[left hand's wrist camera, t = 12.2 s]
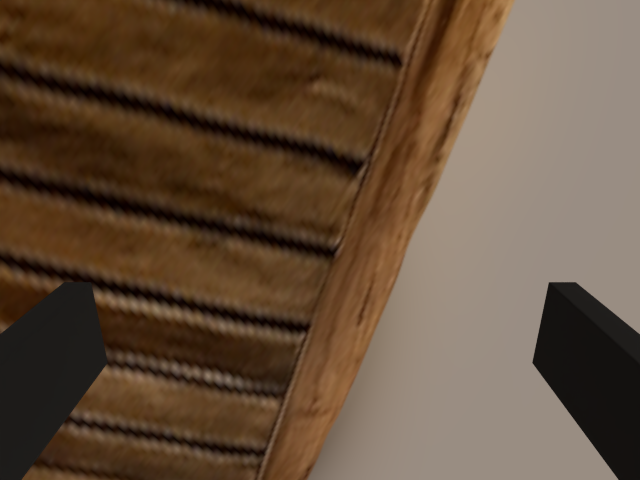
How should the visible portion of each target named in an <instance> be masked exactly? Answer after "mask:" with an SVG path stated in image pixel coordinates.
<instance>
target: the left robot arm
mask: <svg viewBox="0 0 640 480" xmlns="http://www.w3.org/2000/svg"><path fill="white" fill-rule="evenodd" d="M106 364H107V358H106V353H105V348H104V343H103V338H102V333H101V328H100V324H99V319H98V314H97V309H96V304H95V299H94V294H93V290H92V285H91V282H64V283H63V284H62V285H60V286H59V287H58V288H57V289H56V290H54V291H53V292H52V293H51V294H49V295H48V296H47V297H46V298H44V299H43V300H42V301H41V302H40V303H38V304H37V305H36V306H35V307H33V308H32V309H31V310H30V311H28V312H27V313H26V314H25V315H24V316H22V317H21V318H20V319H19V320H17V321H16V322H15V323H14V324H12V325H11V326H10V327H9V328H8V329H6V330H5V331H4V332H3V333H1V334H0V480H22V478H23V477H24V475H25V474H26V473H27V471H28V470H29V469H30V467H31V466H32V465H33V463H34V462H35V461H36V459H37V458H38V456H39V455H40V454H41V452H42V451H43V450H44V448H45V447H46V446H47V444H48V443H49V442H50V440H51V439H52V437H53V436H54V435H55V433H56V432H57V431H58V429H59V428H60V427H61V425H62V424H63V423H64V421H65V420H66V418H67V417H68V416H69V414H70V413H71V412H72V410H73V409H74V408H75V406H76V405H77V404H78V402H79V401H80V400H81V398H82V397H83V395H84V394H85V393H86V391H87V390H88V389H89V387H90V386H91V385H92V383H93V382H94V381H95V379H96V378H97V376H98V375H99V374H100V372H101V371H102V370H103V368H104V367H105V366H106ZM533 364H534V366H535V367H536V368H537V370H538V371H539V372H540V374H541V375H542V376H543V378H544V379H545V381H546V382H547V383H548V385H549V386H550V387H551V389H552V390H553V391H554V393H555V394H556V395H557V397H558V398H559V400H560V401H561V402H562V403H563V405H564V406H565V408H566V409H567V410H568V412H569V413H570V414H571V416H572V417H573V418H574V420H575V421H576V423H577V424H578V425H579V427H580V428H581V429H582V431H583V432H584V433H585V435H586V436H587V437H588V439H589V440H590V442H591V443H592V444H593V446H594V447H595V448H596V450H597V451H598V452H599V454H600V455H601V456H602V458H603V459H604V460H605V462H606V463H607V465H608V466H609V467H610V469H611V470H612V471H613V473H614V474H615V475H616V477H617V478H618V480H640V334H639V333H637V332H636V331H635V330H634V329H632V328H631V327H630V326H629V325H628V324H626V323H625V322H624V321H623V320H621V319H620V318H619V317H618V316H616V315H615V314H614V313H613V312H612V311H610V310H609V309H608V308H607V307H605V306H604V305H603V304H602V303H600V302H599V301H598V300H597V299H596V298H594V297H593V296H592V295H591V294H589V293H588V292H587V291H586V290H584V289H583V288H582V287H581V286H579V285H578V284H577V283H576V282H549V285H548V290H547V294H546V299H545V304H544V309H543V314H542V319H541V324H540V328H539V333H538V338H537V343H536V348H535V353H534V358H533Z"/></svg>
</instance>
